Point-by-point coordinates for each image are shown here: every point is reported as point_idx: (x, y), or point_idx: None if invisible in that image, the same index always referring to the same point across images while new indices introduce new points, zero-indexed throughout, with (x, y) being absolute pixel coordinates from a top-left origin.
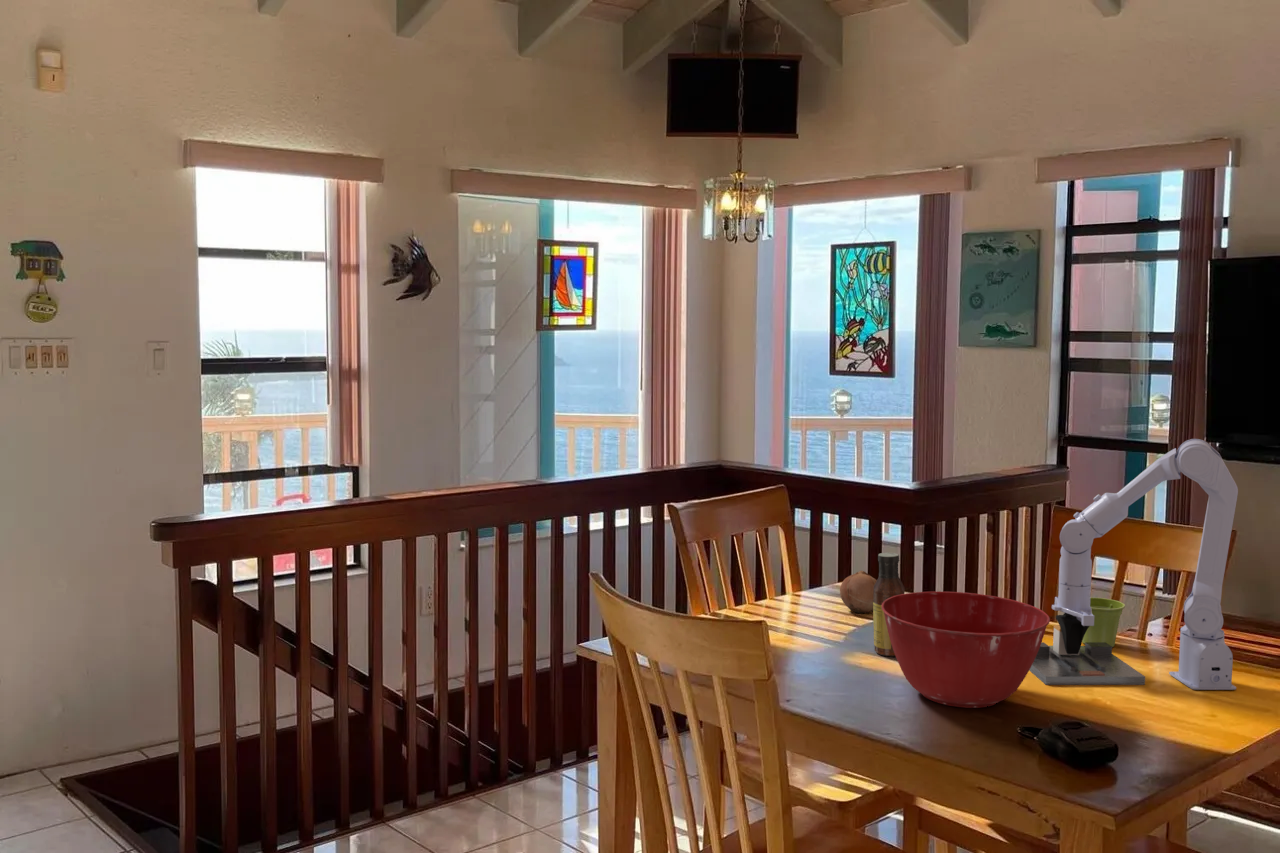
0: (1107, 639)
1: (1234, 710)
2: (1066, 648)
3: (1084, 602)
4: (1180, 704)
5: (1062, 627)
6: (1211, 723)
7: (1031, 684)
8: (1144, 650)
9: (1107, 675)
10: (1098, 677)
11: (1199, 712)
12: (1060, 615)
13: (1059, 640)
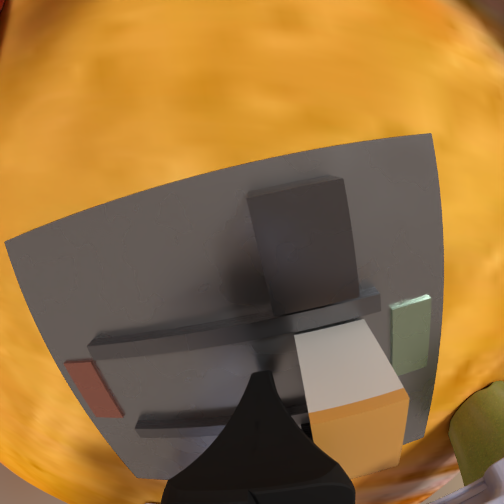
0: (453, 446)
1: (76, 495)
2: (249, 384)
3: None
4: (55, 459)
5: (253, 452)
6: (6, 448)
7: (13, 188)
8: (421, 475)
9: (98, 419)
10: (76, 394)
11: (37, 460)
12: (338, 498)
13: (302, 378)
